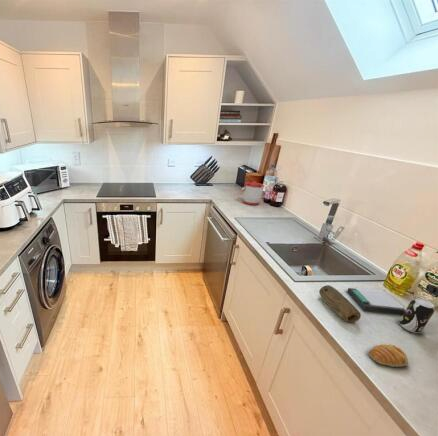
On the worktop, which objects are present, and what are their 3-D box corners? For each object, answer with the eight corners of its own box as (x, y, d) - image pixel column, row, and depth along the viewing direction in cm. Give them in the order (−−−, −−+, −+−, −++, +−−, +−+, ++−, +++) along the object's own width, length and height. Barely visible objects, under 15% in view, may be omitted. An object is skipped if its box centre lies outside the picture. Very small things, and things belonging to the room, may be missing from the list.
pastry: (382, 370, 71) (387, 362, 70) (361, 350, 77) (365, 342, 76) (409, 366, 72) (414, 358, 71) (385, 347, 79) (390, 339, 77)
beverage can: (412, 335, 83) (428, 309, 78) (393, 322, 88) (408, 297, 83) (425, 333, 84) (442, 307, 79) (406, 320, 89) (421, 295, 84)
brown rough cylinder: (313, 296, 100) (318, 284, 98) (328, 295, 101) (333, 283, 98) (343, 325, 87) (349, 311, 84) (360, 323, 87) (367, 310, 85)
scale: (382, 295, 101) (385, 290, 100) (403, 315, 91) (407, 309, 90) (346, 291, 103) (349, 286, 102) (363, 310, 93) (366, 304, 92)
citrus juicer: (238, 199, 217) (242, 178, 209) (258, 201, 213) (263, 179, 205) (240, 205, 203) (244, 182, 195) (261, 207, 199) (266, 184, 191)
